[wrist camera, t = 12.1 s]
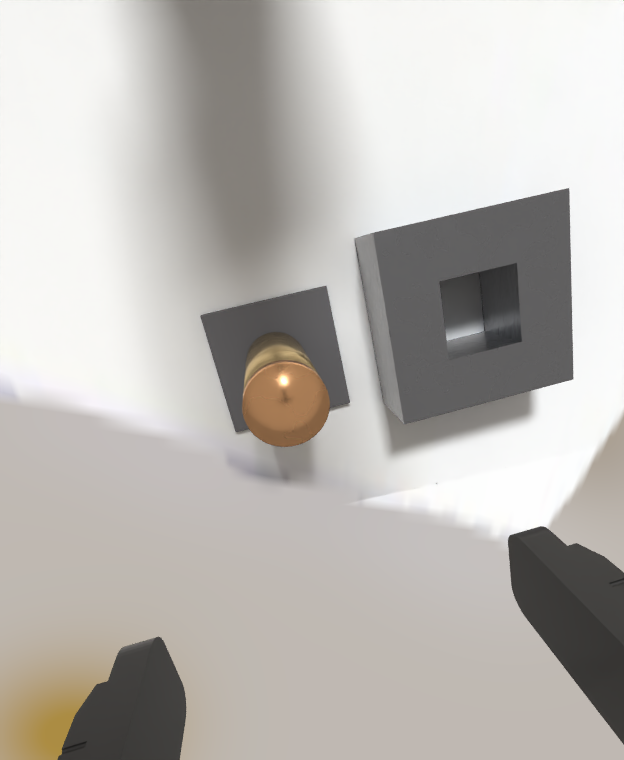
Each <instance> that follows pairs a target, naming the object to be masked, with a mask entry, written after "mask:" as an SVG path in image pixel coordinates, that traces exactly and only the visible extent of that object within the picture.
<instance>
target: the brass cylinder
mask: <svg viewBox="0 0 624 760" xmlns="http://www.w3.org/2000/svg"><path fill="white" fill-rule="evenodd" d="M329 408H330V400H329V394H328V391H327V388H326V386H325V384H324V383H323V381H322V379H321V378H320V376H319V374H318V373H317V371H316V369H315V368H314V366H313V364H312V363H311V361H310V359H309V358H308V356H307V354H306V353H305V351H304V349H303V348H302V346H301V345H300V343H299V342H298V341H297V340H296V339H295V338H293V337H292V336H290V335H288V334H285V333H282V332H271V333H267V334H264V335H262V336H260V337H259V338H257V339H256V340H255V341H254V342H253V343H252V345H251V346H250V348H249V350H248V353H247V358H246V369H245V380H244V391H243V402H242V411H243V416H244V420H245V422H246V424H247V426H248V428H249V429H250V431H251V432H252V433H253V434H254V435H255V436H256V437H257V438H259V439H260V440H262V441H263V442H266V443H268V444H271V445H274V446H280V447H289V446H295V445H299V444H302V443H304V442H306V441H308V440H310V439H311V438H312V437H314V436H315V435H316V434H317V433H318V432H319V431H320V430H321V428H322V427H323V426H324V424H325V422H326V420H327V417H328V414H329Z"/></svg>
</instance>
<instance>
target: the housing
mask: <svg viewBox="0 0 624 760" xmlns="http://www.w3.org/2000/svg"><path fill="white" fill-rule="evenodd" d="M355 243H356V249H357V254H358V260H359V266H360V271H361V277H362V283H363V288H364V294H365V300H366V305H367V311H368V317H369V322H370V328H371V334H372V339H373V345H374V351H375V356H376V362H377V368H378V373H379V379H380V385H381V390H382V396H383V402H384V404H385V405H386V406H387V407H388V408H389V409H390V410H391V411H392V412H393V413H394V414H395V415H396V416H397V417H398V418H399V419H400V421H401V422H402V423H403V424H407V423H411V422H415V421H418V420H422V419H426V418H430V417H433V416H437V415H441V414H445V413H449V412H452V411H456V410H460V409H464V408H467V407H471V406H475V405H479V404H482V403H486V402H490V401H494V400H497V399H501V398H505V397H509V396H512V395H516V394H520V393H524V392H527V391H531V390H535V389H539V388H542V387H546V386H550V385H554V384H557V383H561V382H565V381H569V380H572V379H573V341H572V296H571V250H570V205H569V188H567V189H563V190H559V191H554V192H550V193H546V194H541V195H537V196H532V197H528V198H524V199H519V200H515V201H511V202H506V203H502V204H497V205H493V206H489V207H484V208H480V209H476V210H471V211H467V212H463V213H458V214H454V215H449V216H445V217H441V218H436V219H432V220H428V221H423V222H419V223H414V224H410V225H406V226H401V227H397V228H393V229H388V230H384V231H379V232H375V233H371V234H368V235H364V236H361V237H358V238H355ZM477 272H480V283H481V294H482V305H483V316H484V328H485V332H481V333H477V334H473V335H469V336H465V337H461V338H457V339H453V340H449V341H446V333H445V324H444V316H443V308H442V299H441V291H440V282H439V281H443V280H447V279H452V278H456V277H460V276H464V275H468V274H472V273H477Z"/></svg>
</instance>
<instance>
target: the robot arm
mask: <svg viewBox="0 0 624 760" xmlns="http://www.w3.org/2000/svg"><path fill="white" fill-rule="evenodd" d="M508 547H509V559H510V572H511V584H512V590H513V593H514V596H515V599H516V601H517V603H518V605H519V607H520V609H521V611H522V612H523V614H524V615H525V617H526V618H527V620H528V621H529V622H530V624H531V625H532V626H533V627H534V629H535V630H536V631H537V632H538V634H539V635H540V636H541V638H542V639H543V640H544V642H545V643H546V644H547V645H548V647H549V648H550V649H551V651H552V652H553V653H554V655H555V656H556V657H557V658H558V660H559V661H560V662H561V664H562V665H563V666H564V668H565V669H566V670H567V671H568V673H569V674H570V675H571V677H572V678H573V679H574V681H575V682H576V683H577V684H578V686H579V687H580V688H581V690H582V691H583V692H584V693H585V695H586V696H587V697H588V699H589V700H590V701H591V703H592V704H593V705H594V706H595V708H596V709H597V710H598V712H599V713H600V714H601V716H602V717H603V718H604V719H605V721H606V722H607V723H608V725H609V726H610V727H611V729H612V730H613V731H614V732H615V734H616V735H617V736H618V738H619V739H620V740H621V741H622V743H623V744H624V573H623V572H622V571H621V570H620V569H619V568H617V567H616V566H615V565H614V564H613V563H611V562H610V561H609V560H608V559H607V558H605V557H604V556H602V555H600V554H597V553H596V552H593V551H591V550H589V549H587V548H585V547H583V546H581V545H579V544H577V543H576V544H573V545H569V546H567V545H566V544H564V543H563V542H562V541H561V540H560V539H559V538H558V537H557V536H556V535H554V534H553V533H552V532H551V531H550V530H549V529H547V528H546V527H542V526H540V527H537V528H534V529H530V530H527V531H523V532H520V533H516V534H513V535H510V536H509V539H508ZM185 719H186V698H185V691H184V687H183V684H182V681H181V679H180V677H179V675H178V673H177V671H176V668H175V666H174V664H173V661H172V659H171V657H170V655H169V652H168V650H167V648H166V646H165V643H164V641H163V640H162V639H161V638H160V637H156V638H153V639H149V640H146V641H143V642H139V643H135V644H132V645H129V646H125V647H123V648H121V650H120V651H119V653H118V655H117V657H116V660H115V663H114V666H113V668H112V671H111V674H110V677H109V680H108V681H107V682H104V683H100V684H97V685H96V686H95V687H94V689H93V690H92V692H91V693H90V695H89V696H88V697H87V699H86V700H85V702H84V703H83V705H82V706H81V708H80V709H79V710H78V712H77V713H76V715H75V717H74V719H73V722H72V724H71V727H70V729H69V732H68V735H67V737H66V740H65V742H64V745H63V747H62V755H60V756H59V757H58V760H180V752H181V746H182V740H183V733H184V726H185Z"/></svg>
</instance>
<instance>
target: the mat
mask: <svg viewBox="0 0 624 760" xmlns="http://www.w3.org/2000/svg"><path fill="white" fill-rule="evenodd" d="M201 319H202V322H203V326H204V329H205V332H206V336H207V339H208V342H209V345H210V349H211V352H212V355H213V359H214V362H215V365H216V368H217V372H218V375H219V378H220V382H221V385H222V388H223V392H224V395H225V398H226V401H227V405H228V408H229V411H230V415H231V418H232V421H233V424H234V428H235V431H236V432H239V431H242V430H246V429H249V428H248V426H247V424H246V422H245V420H244V416H243V411H242V402H243V391H244V380H245V369H246V358H247V353H248V350H249V348H250V346H251V345H252V343H253V342H254V341H255V340H256V339H257V338H259V337H260V336H262V335H264V334H267V333H271V332H282V333H285V334H288V335H290V336H292V337H293V338H295V339H296V340H297V341H298V342H299V343H300V345H301V346H302V348H303V349H304V351H305V353H306V354H307V356H308V358H309V359H310V361H311V363H312V364H313V366H314V368H315V369H316V371H317V373H318V374H319V376H320V378H321V379H322V381H323V383H324V384H325V386H326V388H327V391H328V394H329V400H330V408H331V407H335V406H339V405H343V404H346V403H350V400H349V395H348V390H347V385H346V381H345V376H344V371H343V366H342V361H341V356H340V351H339V346H338V341H337V336H336V331H335V327H334V322H333V317H332V312H331V307H330V302H329V297H328V292H327V287H326V286H322V287H318V288H314V289H310V290H306V291H301V292H297V293H293V294H289V295H284V296H280V297H276V298H272V299H268V300H263V301H259V302H255V303H251V304H246V305H242V306H238V307H234V308H230V309H225V310H221V311H217V312H213V313H208V314H204V315H201Z"/></svg>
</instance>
